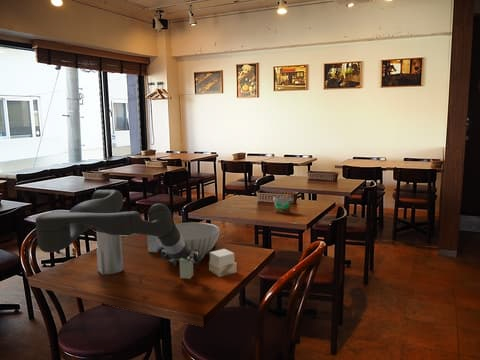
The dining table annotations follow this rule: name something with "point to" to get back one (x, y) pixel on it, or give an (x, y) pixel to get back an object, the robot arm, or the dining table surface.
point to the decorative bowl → (199, 236)
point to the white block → (222, 257)
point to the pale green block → (186, 268)
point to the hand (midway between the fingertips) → (186, 263)
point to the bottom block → (223, 269)
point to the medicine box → (153, 243)
